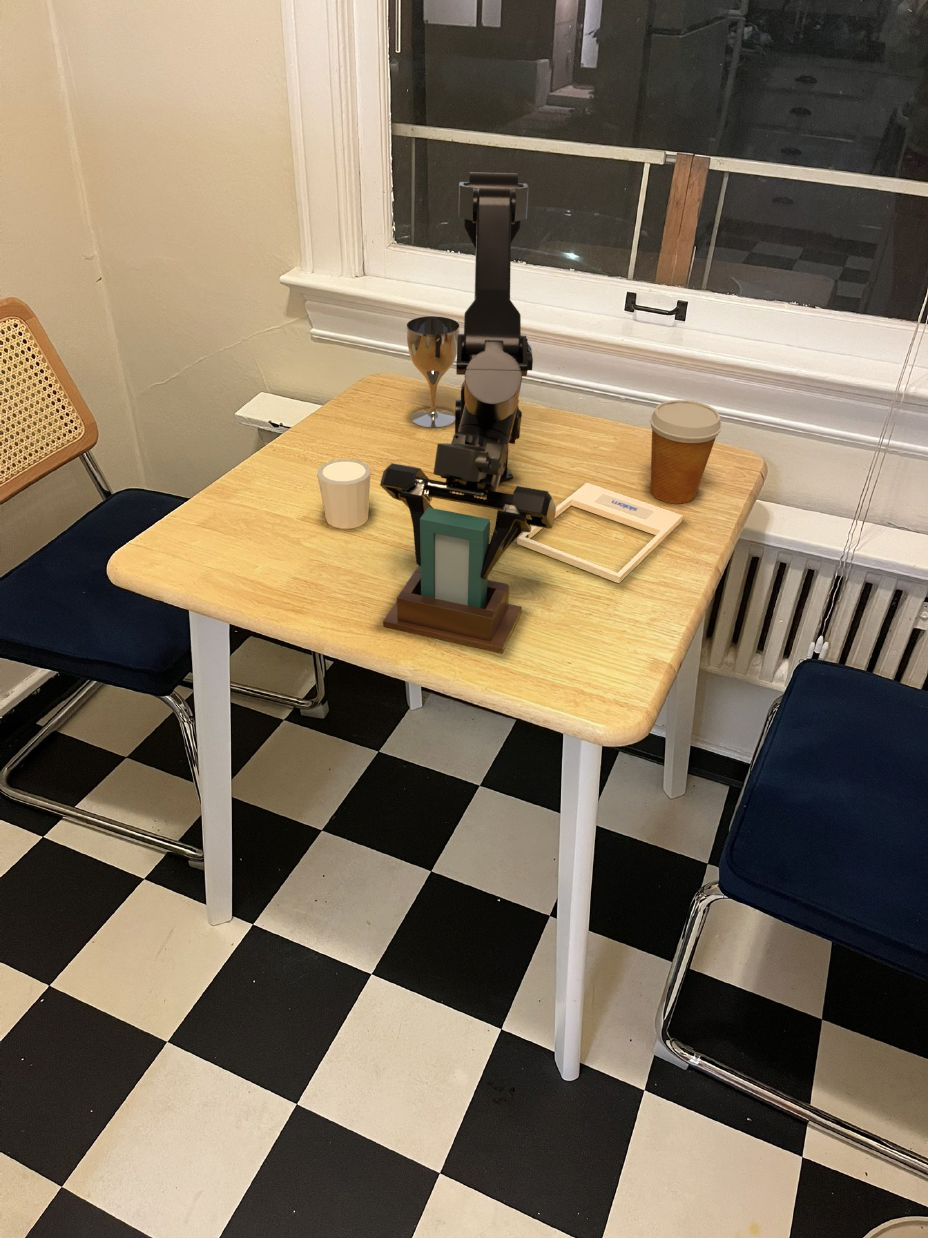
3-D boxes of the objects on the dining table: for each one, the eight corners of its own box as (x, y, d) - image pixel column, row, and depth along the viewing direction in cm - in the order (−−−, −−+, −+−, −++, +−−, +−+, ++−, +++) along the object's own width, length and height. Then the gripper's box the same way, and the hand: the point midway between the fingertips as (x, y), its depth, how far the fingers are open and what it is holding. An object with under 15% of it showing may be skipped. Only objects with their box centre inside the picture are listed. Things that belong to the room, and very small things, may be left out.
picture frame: (428, 600, 105) (427, 507, 97) (486, 613, 103) (490, 518, 96) (420, 613, 103) (419, 518, 95) (479, 625, 101) (483, 531, 94)
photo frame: (683, 514, 121) (620, 575, 109) (681, 521, 121) (618, 583, 110) (586, 481, 127) (517, 536, 115) (586, 488, 128) (517, 543, 116)
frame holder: (408, 587, 108) (408, 559, 106) (521, 611, 105) (523, 583, 102) (383, 626, 102) (381, 598, 100) (502, 653, 99) (503, 624, 96)
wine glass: (403, 426, 143) (401, 332, 134) (414, 405, 149) (412, 314, 140) (453, 430, 142) (454, 336, 133) (461, 409, 148) (463, 318, 139)
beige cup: (364, 534, 118) (362, 486, 113) (314, 527, 119) (309, 480, 114) (379, 507, 123) (377, 461, 119) (330, 501, 124) (326, 455, 120)
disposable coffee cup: (705, 479, 131) (721, 401, 124) (708, 513, 123) (726, 432, 116) (639, 473, 132) (651, 395, 125) (638, 506, 125) (650, 425, 117)
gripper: (383, 393, 94) (345, 537, 92) (558, 421, 90) (522, 573, 88) (411, 431, 105) (378, 561, 103) (569, 458, 100) (537, 594, 99)
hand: (450, 571), depth 98 cm, fingers closed on picture frame, 7 cm apart
